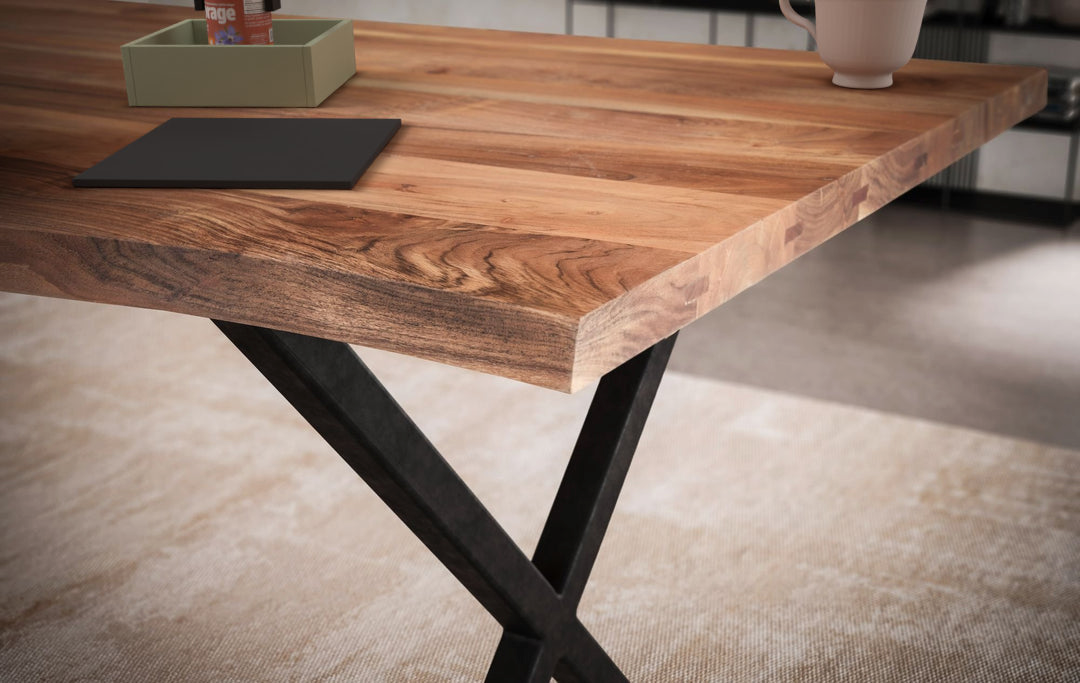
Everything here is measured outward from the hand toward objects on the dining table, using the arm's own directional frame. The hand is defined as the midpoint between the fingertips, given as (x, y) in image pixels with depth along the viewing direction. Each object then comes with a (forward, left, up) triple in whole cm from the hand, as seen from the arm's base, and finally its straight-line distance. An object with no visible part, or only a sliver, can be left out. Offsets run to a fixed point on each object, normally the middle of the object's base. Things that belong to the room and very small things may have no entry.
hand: (238, 9), depth 112 cm
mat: (+8, -26, -8) cm, 28 cm away
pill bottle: (0, 0, -5) cm, 5 cm away
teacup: (+59, +4, -8) cm, 60 cm away
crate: (0, 0, -8) cm, 8 cm away
